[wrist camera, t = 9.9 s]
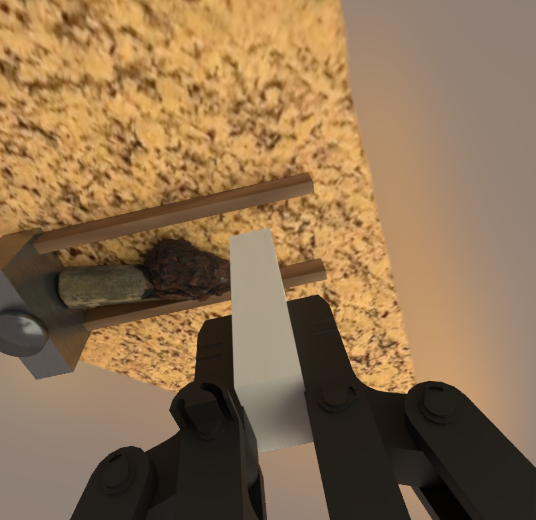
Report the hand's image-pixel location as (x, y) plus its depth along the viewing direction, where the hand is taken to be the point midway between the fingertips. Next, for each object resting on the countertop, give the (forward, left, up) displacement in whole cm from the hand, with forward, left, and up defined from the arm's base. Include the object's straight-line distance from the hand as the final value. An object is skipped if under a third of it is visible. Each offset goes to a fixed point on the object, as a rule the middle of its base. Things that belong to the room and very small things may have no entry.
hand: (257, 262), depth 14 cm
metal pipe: (+13, -13, -25) cm, 31 cm away
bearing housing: (+12, -25, -25) cm, 37 cm away
